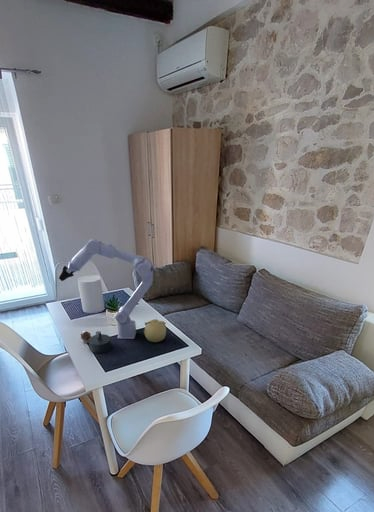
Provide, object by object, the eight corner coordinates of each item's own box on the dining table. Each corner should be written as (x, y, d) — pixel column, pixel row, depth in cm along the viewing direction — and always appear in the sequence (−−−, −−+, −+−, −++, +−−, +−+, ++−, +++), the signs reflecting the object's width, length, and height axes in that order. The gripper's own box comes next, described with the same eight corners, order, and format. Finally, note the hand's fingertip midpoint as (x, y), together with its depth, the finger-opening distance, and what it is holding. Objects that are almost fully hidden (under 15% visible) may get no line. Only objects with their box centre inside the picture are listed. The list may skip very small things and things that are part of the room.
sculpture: (166, 333, 173) (166, 316, 167) (165, 344, 163) (165, 326, 157) (146, 333, 172) (144, 315, 167) (144, 344, 162) (142, 326, 157)
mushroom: (92, 339, 166) (91, 329, 163) (90, 344, 162) (88, 334, 158) (83, 339, 166) (81, 329, 163) (80, 344, 162) (78, 333, 159)
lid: (113, 336, 161) (111, 327, 158) (107, 347, 152) (106, 338, 149) (91, 335, 161) (90, 327, 158) (85, 346, 152) (83, 337, 149)
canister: (101, 313, 193) (97, 282, 182) (80, 313, 193) (74, 281, 182) (106, 304, 205) (102, 275, 194) (86, 304, 205) (81, 274, 194)
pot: (112, 343, 163) (111, 335, 160) (108, 353, 154) (107, 345, 152) (93, 342, 163) (92, 335, 161) (88, 353, 155) (86, 345, 152)
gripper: (79, 248, 152) (62, 266, 157) (69, 256, 140) (51, 275, 145) (90, 260, 155) (73, 277, 160) (81, 268, 143) (63, 286, 148)
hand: (63, 277), depth 153 cm, fingers open, 7 cm apart
